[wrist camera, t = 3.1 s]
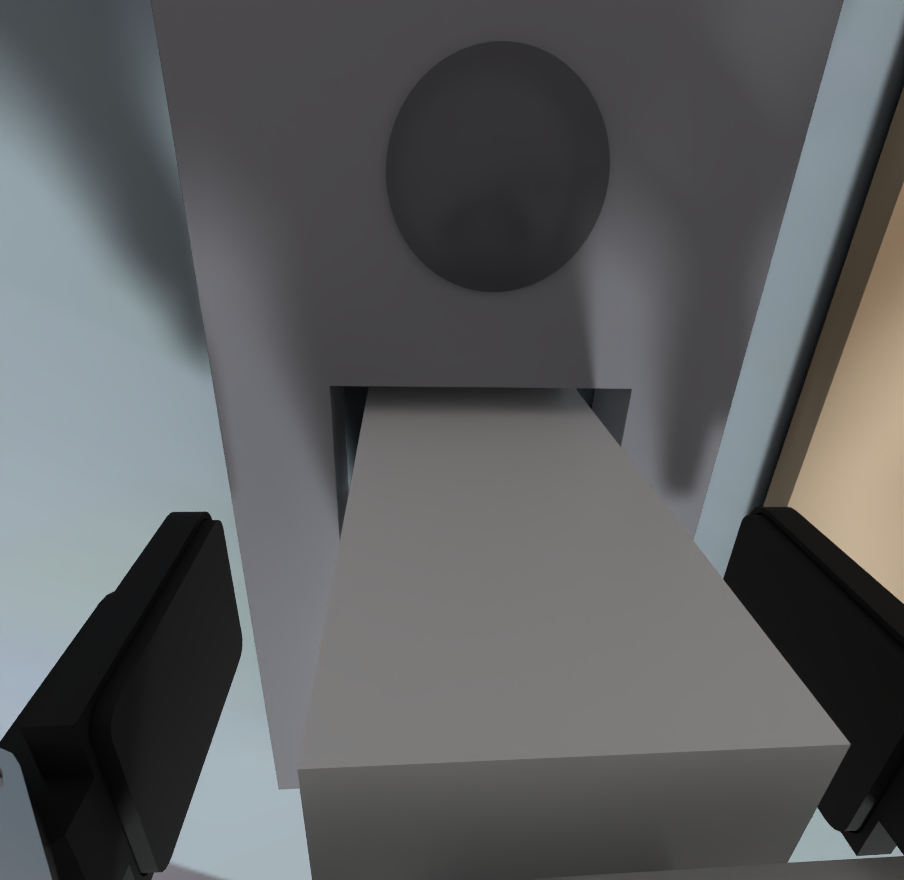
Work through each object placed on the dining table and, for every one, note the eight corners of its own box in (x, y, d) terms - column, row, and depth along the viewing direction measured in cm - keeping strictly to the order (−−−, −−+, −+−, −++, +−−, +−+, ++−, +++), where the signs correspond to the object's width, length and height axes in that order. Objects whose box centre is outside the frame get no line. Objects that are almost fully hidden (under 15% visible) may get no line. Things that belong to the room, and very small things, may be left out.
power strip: (891, -511, 7) (1114, -827, 5) (606, 711, 18) (636, 793, 15) (112, -628, 7) (-52, -1070, 4) (292, 724, 17) (274, 812, 15)
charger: (570, 381, 13) (908, 818, 4) (547, 543, 15) (743, 1066, 6) (369, 379, 12) (281, 854, 4) (375, 545, 14) (323, 1105, 6)
